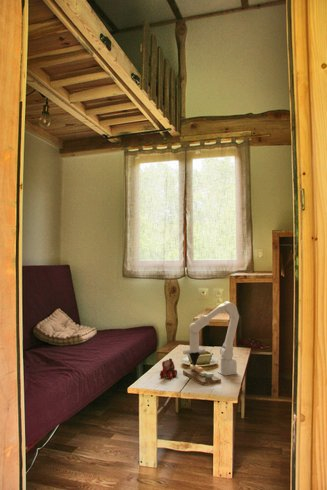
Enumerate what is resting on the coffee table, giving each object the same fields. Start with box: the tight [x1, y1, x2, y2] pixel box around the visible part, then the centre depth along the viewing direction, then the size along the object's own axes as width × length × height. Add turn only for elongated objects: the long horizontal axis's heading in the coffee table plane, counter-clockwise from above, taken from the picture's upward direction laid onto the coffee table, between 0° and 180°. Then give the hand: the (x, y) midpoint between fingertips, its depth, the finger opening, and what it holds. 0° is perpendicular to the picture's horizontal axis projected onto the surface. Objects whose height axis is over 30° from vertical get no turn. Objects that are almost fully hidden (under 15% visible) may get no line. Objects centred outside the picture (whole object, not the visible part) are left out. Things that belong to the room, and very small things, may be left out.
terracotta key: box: [195, 366, 204, 374], centre depth 239 cm, size 4×4×4 cm
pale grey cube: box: [204, 371, 214, 380], centre depth 228 cm, size 4×4×4 cm
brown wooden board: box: [182, 368, 222, 386], centre depth 236 cm, size 12×25×2 cm, turn 23°
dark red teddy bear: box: [159, 357, 178, 380], centre depth 238 cm, size 7×12×10 cm, turn 147°
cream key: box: [189, 364, 200, 372], centre depth 245 cm, size 4×4×4 cm
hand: (194, 365), depth 245 cm, fingers closed
